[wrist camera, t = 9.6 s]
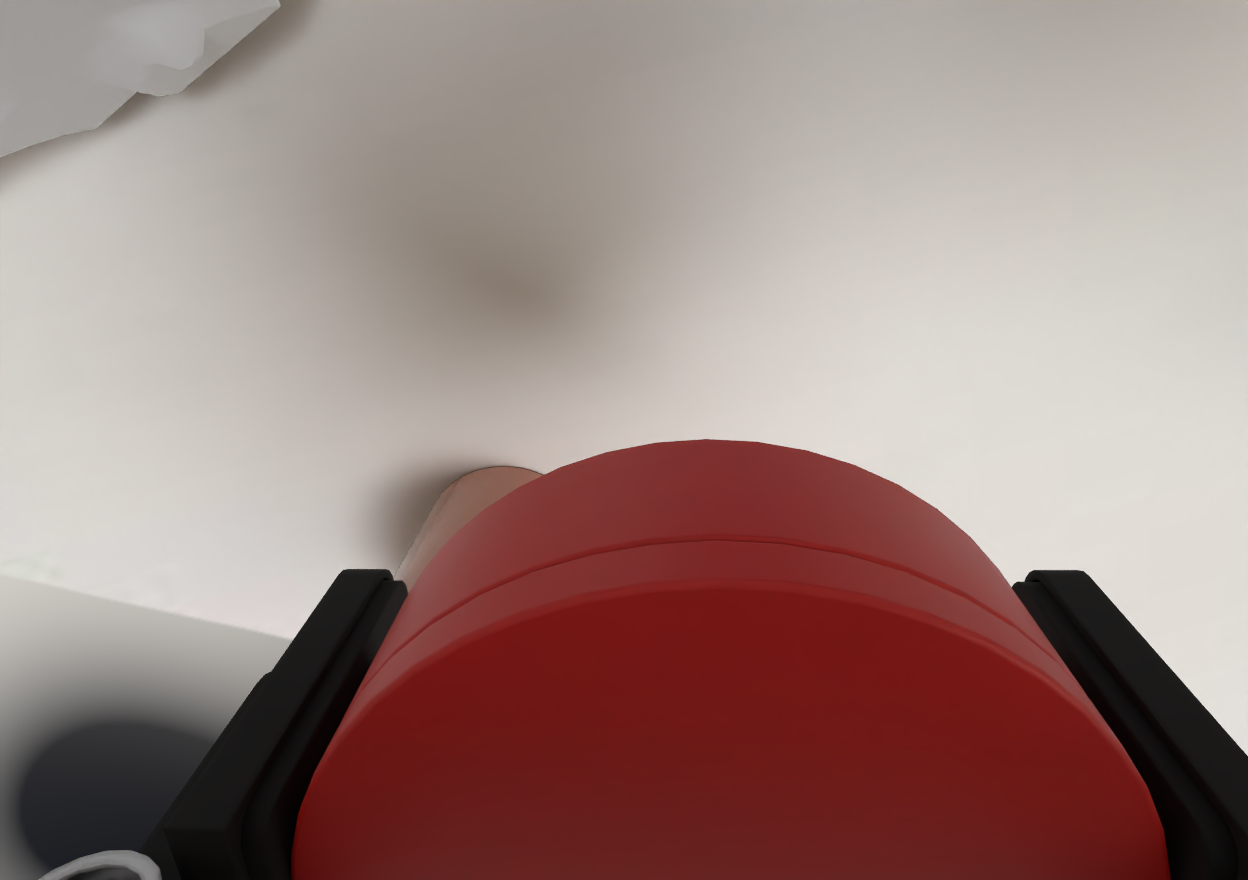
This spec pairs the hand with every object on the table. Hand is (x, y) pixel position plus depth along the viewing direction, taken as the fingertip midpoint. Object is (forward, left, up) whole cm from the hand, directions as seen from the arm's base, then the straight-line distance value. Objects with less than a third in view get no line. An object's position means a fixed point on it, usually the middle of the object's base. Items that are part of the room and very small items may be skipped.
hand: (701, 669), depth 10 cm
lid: (0, 0, +3) cm, 3 cm away
